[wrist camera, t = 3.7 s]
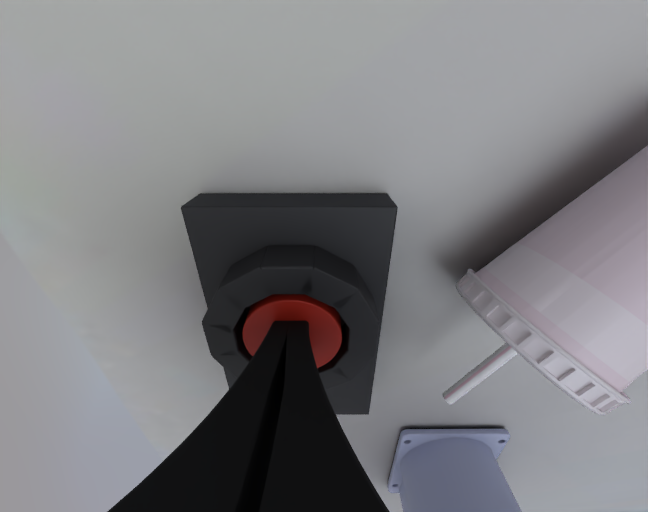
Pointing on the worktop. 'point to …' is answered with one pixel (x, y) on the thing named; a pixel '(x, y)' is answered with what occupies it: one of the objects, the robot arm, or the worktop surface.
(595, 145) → the worktop surface
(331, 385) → the black base plate
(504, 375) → the worktop surface
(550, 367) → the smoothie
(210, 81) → the worktop surface
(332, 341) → the power button
